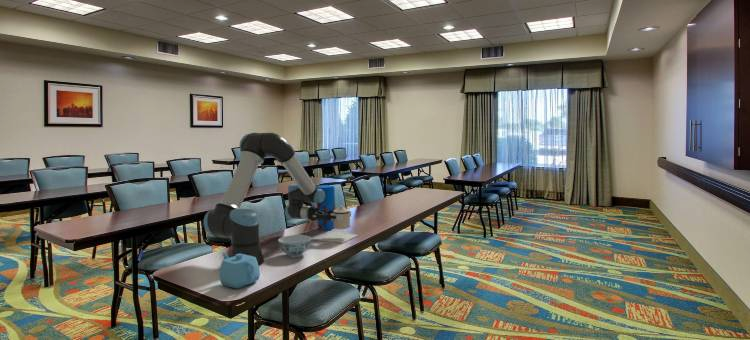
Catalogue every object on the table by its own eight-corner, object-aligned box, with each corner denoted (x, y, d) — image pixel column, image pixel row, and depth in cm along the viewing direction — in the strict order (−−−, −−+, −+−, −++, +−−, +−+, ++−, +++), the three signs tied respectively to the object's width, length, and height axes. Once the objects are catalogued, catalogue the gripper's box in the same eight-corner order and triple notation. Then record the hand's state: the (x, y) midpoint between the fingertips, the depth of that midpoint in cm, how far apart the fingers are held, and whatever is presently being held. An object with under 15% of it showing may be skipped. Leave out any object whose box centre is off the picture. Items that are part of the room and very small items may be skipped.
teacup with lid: (353, 226, 222) (353, 205, 220) (344, 230, 214) (343, 207, 213) (335, 224, 228) (334, 203, 226) (325, 227, 220) (324, 206, 219)
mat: (343, 243, 211) (343, 242, 211) (320, 240, 217) (320, 239, 216) (357, 236, 225) (357, 234, 225) (335, 233, 231) (335, 232, 231)
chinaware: (309, 259, 184) (308, 242, 184) (275, 260, 184) (274, 243, 184) (313, 250, 199) (313, 234, 199) (282, 250, 199) (282, 235, 199)
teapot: (236, 274, 167) (235, 246, 166) (266, 282, 157) (265, 253, 156) (209, 283, 157) (207, 254, 156) (239, 293, 147) (238, 261, 146)
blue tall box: (329, 225, 253) (328, 184, 250) (339, 228, 244) (338, 186, 242) (314, 228, 246) (312, 186, 243) (323, 231, 237) (322, 188, 235)
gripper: (321, 215, 237) (356, 218, 228) (299, 223, 218) (336, 227, 209) (320, 203, 237) (355, 205, 227) (298, 209, 217) (336, 212, 208)
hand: (346, 215), depth 218 cm, fingers closed on teacup with lid, 9 cm apart
